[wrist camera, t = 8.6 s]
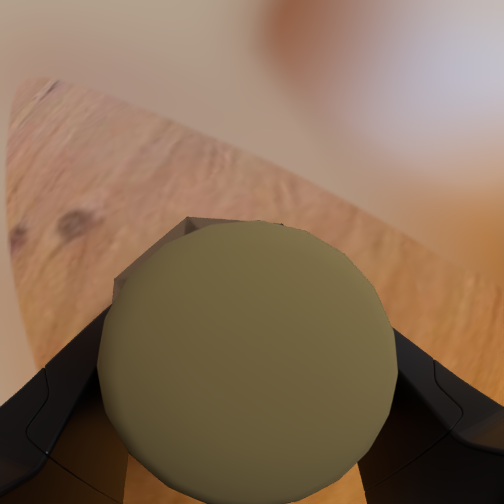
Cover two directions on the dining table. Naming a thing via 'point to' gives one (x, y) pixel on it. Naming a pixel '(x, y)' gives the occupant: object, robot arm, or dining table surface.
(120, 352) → the olive round-headed post
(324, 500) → the dining table surface
